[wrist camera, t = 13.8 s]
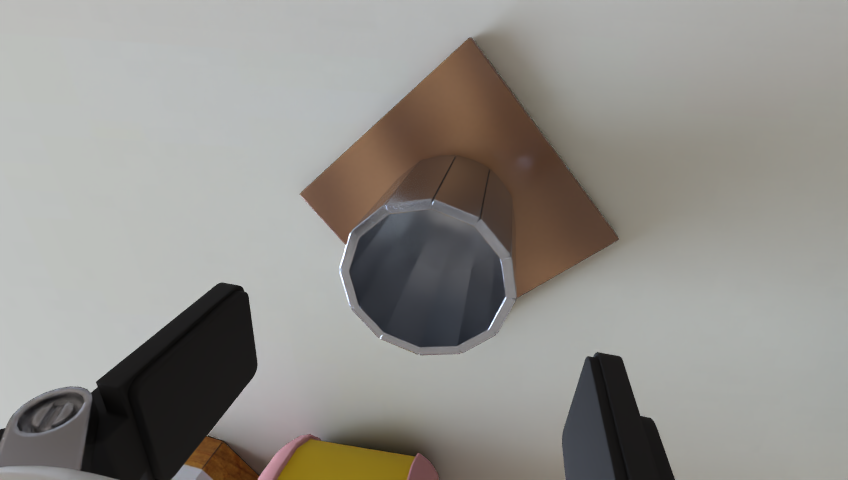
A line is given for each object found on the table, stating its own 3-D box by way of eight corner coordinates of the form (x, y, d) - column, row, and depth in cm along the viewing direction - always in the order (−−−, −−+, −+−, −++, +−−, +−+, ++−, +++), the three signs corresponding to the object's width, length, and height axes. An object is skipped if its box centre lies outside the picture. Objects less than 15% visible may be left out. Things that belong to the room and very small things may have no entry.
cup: (460, 126, 20) (435, 162, 14) (540, 230, 21) (551, 305, 15) (364, 205, 23) (308, 265, 17) (441, 292, 24) (416, 378, 18)
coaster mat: (471, 36, 19) (470, 36, 18) (617, 235, 21) (619, 240, 21) (303, 191, 24) (298, 194, 23) (437, 338, 26) (436, 344, 26)
